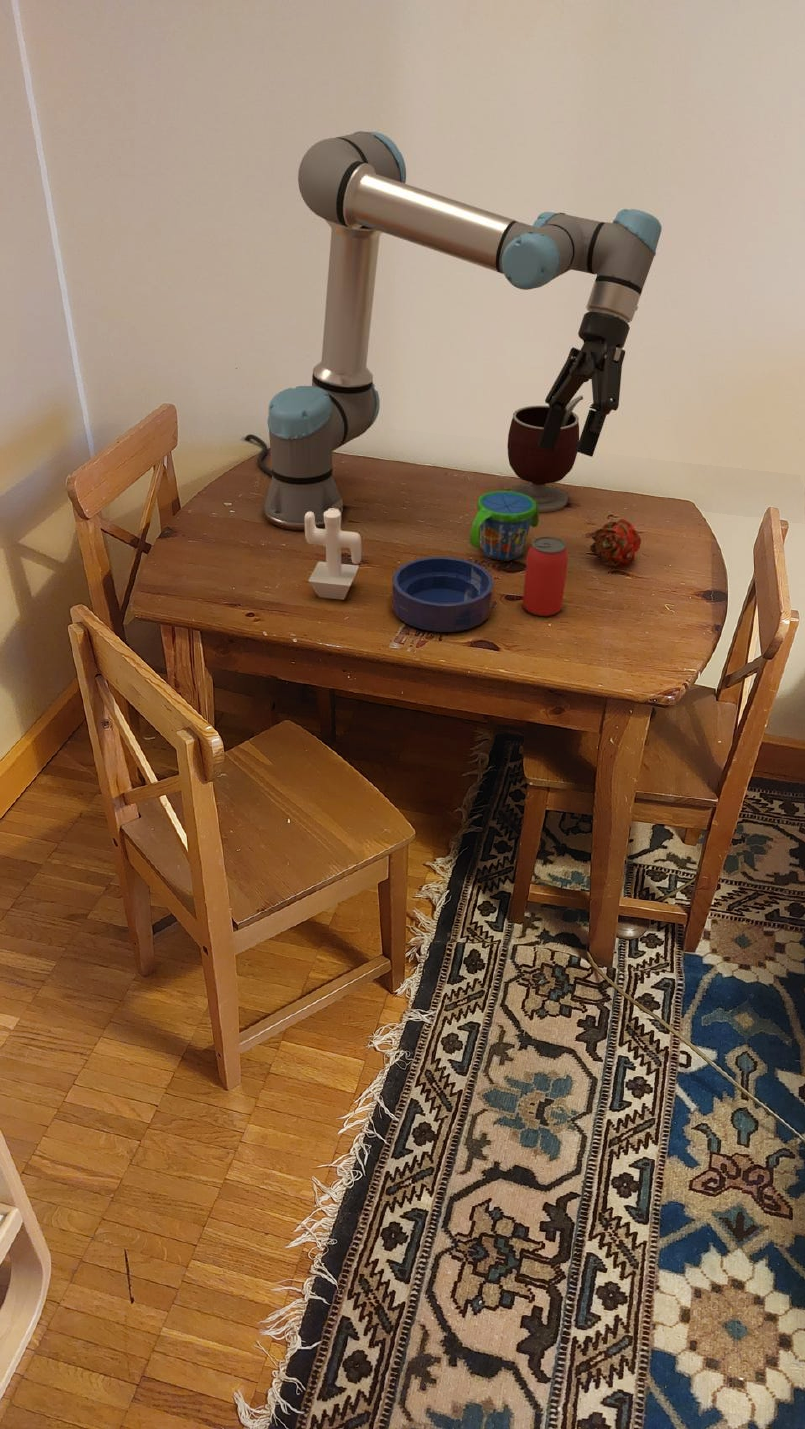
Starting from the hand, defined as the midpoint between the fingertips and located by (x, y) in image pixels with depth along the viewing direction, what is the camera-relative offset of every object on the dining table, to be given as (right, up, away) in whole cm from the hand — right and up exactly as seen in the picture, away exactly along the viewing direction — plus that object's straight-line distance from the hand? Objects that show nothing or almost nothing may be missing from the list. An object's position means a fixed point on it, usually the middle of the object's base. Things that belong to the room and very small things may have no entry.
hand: (563, 451), depth 163 cm
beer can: (-3, -25, +8) cm, 26 cm away
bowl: (-20, -25, +7) cm, 32 cm away
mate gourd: (+2, +2, +43) cm, 43 cm away
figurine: (-38, -22, +11) cm, 45 cm away
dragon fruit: (+13, -14, +22) cm, 29 cm away
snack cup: (-8, -13, +24) cm, 28 cm away
